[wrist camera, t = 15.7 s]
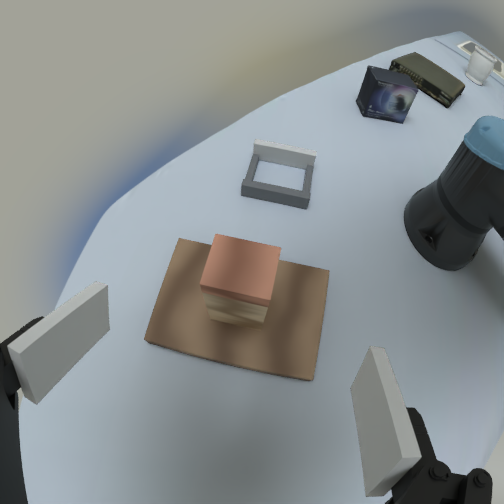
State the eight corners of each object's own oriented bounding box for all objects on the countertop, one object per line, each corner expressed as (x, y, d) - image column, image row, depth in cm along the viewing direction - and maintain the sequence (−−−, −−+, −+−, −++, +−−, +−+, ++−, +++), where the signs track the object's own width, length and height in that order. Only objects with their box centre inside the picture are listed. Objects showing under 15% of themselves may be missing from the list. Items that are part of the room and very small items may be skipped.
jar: (473, 84, 80) (486, 56, 67) (458, 70, 85) (470, 42, 72) (487, 89, 81) (501, 63, 68) (473, 75, 86) (486, 49, 73)
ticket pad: (269, 291, 37) (281, 247, 27) (260, 330, 35) (270, 300, 25) (221, 280, 37) (215, 233, 28) (210, 319, 35) (199, 283, 25)
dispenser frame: (312, 166, 50) (316, 151, 47) (306, 209, 45) (311, 194, 42) (254, 154, 50) (255, 139, 47) (241, 195, 46) (241, 180, 43)
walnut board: (325, 276, 40) (329, 270, 39) (309, 381, 34) (313, 379, 32) (181, 245, 42) (179, 238, 40) (148, 342, 35) (143, 339, 33)
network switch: (384, 73, 71) (389, 60, 67) (404, 58, 80) (408, 47, 76) (453, 115, 65) (460, 102, 61) (461, 92, 74) (466, 82, 70)
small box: (362, 117, 58) (376, 79, 49) (355, 101, 61) (366, 64, 52) (403, 125, 58) (420, 89, 49) (394, 108, 62) (408, 74, 52)
